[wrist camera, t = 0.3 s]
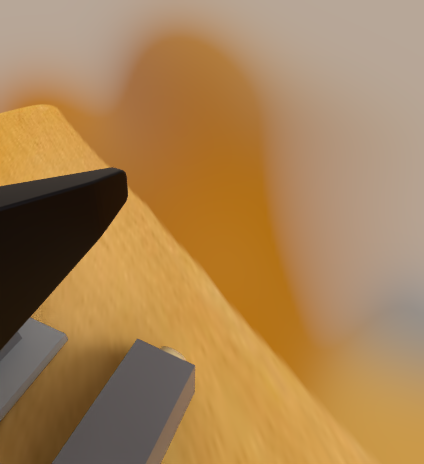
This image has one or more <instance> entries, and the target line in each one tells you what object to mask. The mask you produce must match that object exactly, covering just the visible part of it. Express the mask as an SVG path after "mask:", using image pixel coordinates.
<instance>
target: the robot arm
mask: <svg viewBox="0 0 424 464" xmlns="http://www.w3.org/2000/svg"><path fill="white" fill-rule="evenodd" d="M127 197H128V188H127V176H126V173H125V172H124V171H123V170H120V169H117V168H105V169H100V170H94V171H88V172H82V173H76V174H70V175H64V176H58V177H52V178H47V179H41V180H35V181H29V182H23V183H17V184H11V185H5V186H0V351H1V350H2V348H3V347H4V346H5V345H6V344H7V343H8V342H9V340H10V339H11V338H12V337H13V336H14V335H15V334H16V333H17V331H18V330H19V329H20V328H21V327H22V326H23V325H24V324H25V322H26V321H27V320H28V319H29V318H30V317H31V316H32V314H33V313H34V312H35V311H36V310H37V309H38V308H39V307H40V305H41V304H42V303H43V302H44V301H45V300H46V299H47V297H48V296H49V295H50V294H51V293H52V292H53V291H54V290H55V288H56V287H57V286H58V285H59V284H60V283H61V282H62V280H63V279H64V278H65V277H66V276H67V275H68V274H69V273H70V271H71V270H72V269H73V268H74V267H75V266H76V265H77V264H78V262H79V261H80V260H81V259H82V258H83V257H84V256H85V254H86V253H87V252H88V251H89V250H90V249H91V248H92V247H93V245H94V244H95V243H96V242H97V241H98V240H99V238H100V237H101V236H102V235H103V233H104V232H105V231H106V229H107V228H108V226H109V225H110V224H111V222H112V221H113V219H114V218H115V217H116V215H117V214H118V212H119V211H120V209H121V208H122V207H123V205H124V204H125V202H126V200H127Z"/></svg>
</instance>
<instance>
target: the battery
mask: <svg viewBox="0 0 424 464" xmlns="http://www.w3.org/2000/svg"><path fill="white" fill-rule="evenodd" d="M194 392H195V365H193V364H191V363H189V362H187V361H186V359H185V358H184V356H183V355H182V354H180V353H179V352H178V351H176V350H174V349H172V348H170V347H166V346H163V347H161V348H160V349H159V348H157V347H155V346H152V345H150V344H148V343H146V342H144V341H142V340H139V339H137V340H136V341H135V343H134V344H133V346H132V347H131V349H130V350H129V352H128V353H127V354H126V356H125V357H124V359H123V360H122V362H121V363H120V365H119V366H118V368H117V369H116V371H115V372H114V373H113V375H112V376H111V378H110V379H109V381H108V382H107V384H106V385H105V387H104V388H103V389H102V391H101V392H100V394H99V395H98V397H97V398H96V400H95V401H94V403H93V404H92V406H91V407H90V408H89V410H88V411H87V413H86V414H85V416H84V417H83V419H82V420H81V422H80V423H79V424H78V426H77V427H76V429H75V430H74V432H73V433H72V435H71V436H70V438H69V439H68V441H67V442H66V443H65V445H64V446H63V448H62V449H61V451H60V452H59V454H58V455H57V457H56V458H55V460H54V461H53V462H52V464H161V462H162V460H163V458H164V455H165V453H166V451H167V449H168V447H169V445H170V443H171V441H172V439H173V436H174V434H175V432H176V430H177V428H178V426H179V424H180V422H181V420H182V417H183V415H184V413H185V411H186V409H187V407H188V405H189V403H190V401H191V398H192V396H193V394H194Z"/></svg>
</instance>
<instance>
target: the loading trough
mask: <svg viewBox="0 0 424 464" xmlns="http://www.w3.org/2000/svg"><path fill="white" fill-rule="evenodd" d="M67 340H68V338H67V336H66V334H65V333H62V332H60V331H58V330H56V329H54V328H52V327H49V326H47V325H45V324H43V323H41V322H39V321H37V320H34V319H32V318H29V319H28V320H27V321H26V322H25V324H24V325H23V326H22V327H21V328H20V329H19V330H18V331H17V333H16V334H15V335H14V336H13V337H12V338H11V339H10V340H9V342H8V343H7V344H6V345H5V346H4V347H3V348H2V350H1V351H0V421H1V420H2V419H3V418H4V416H5V415H6V414H7V413H8V411H9V410H10V409H11V408H12V407H13V405H14V404H15V403H16V402H17V401H18V399H19V398H20V397H21V396H22V395H23V393H24V392H25V391H26V390H27V389H28V387H29V386H30V385H31V384H32V383H33V381H34V380H35V379H36V378H37V377H38V375H39V374H40V373H41V372H42V371H43V369H44V368H45V367H46V366H47V365H48V363H49V362H50V361H51V360H52V358H53V357H54V356H55V355H56V354H57V352H58V351H59V350H60V349H61V348H62V346H63V345H64V344H65V343H66V342H67Z"/></svg>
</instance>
